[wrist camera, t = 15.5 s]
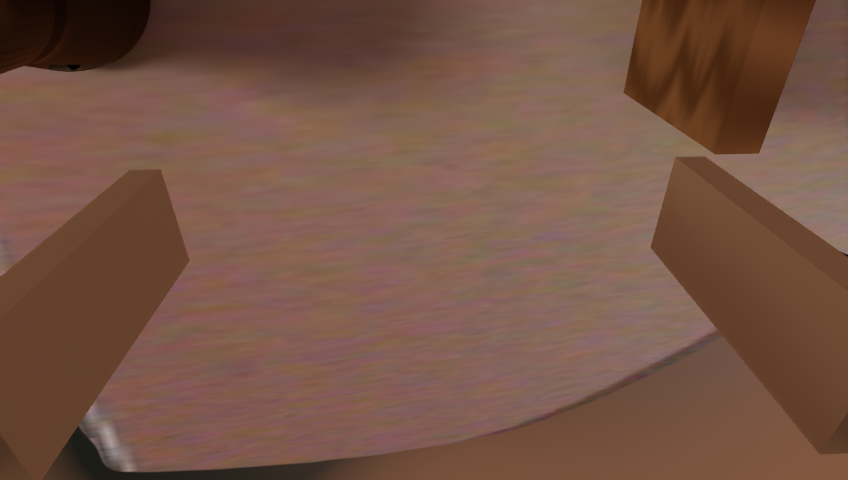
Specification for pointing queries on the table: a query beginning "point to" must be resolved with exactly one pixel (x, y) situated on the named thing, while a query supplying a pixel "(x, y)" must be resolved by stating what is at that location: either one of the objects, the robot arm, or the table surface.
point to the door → (716, 66)
